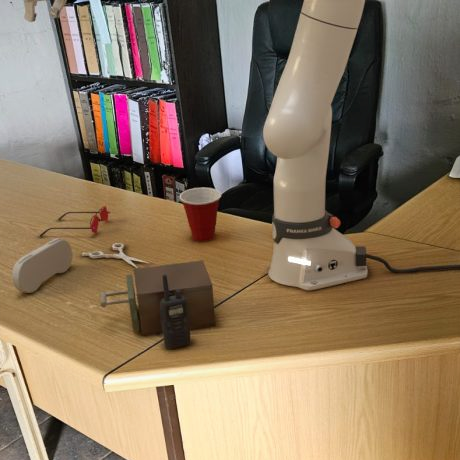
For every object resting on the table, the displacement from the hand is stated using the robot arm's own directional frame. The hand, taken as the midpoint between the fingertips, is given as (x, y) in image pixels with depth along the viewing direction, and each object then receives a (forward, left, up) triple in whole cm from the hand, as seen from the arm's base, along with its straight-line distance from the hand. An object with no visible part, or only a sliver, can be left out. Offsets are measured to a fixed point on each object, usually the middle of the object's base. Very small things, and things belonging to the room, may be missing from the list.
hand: (42, 18), depth 136 cm
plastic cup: (-31, -3, -55) cm, 63 cm away
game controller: (+9, +13, -55) cm, 57 cm away
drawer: (-14, +40, -53) cm, 68 cm away
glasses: (+3, -22, -55) cm, 59 cm away
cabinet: (-19, +40, -54) cm, 70 cm away
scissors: (-9, +5, -54) cm, 55 cm away
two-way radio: (-18, +51, -55) cm, 77 cm away
